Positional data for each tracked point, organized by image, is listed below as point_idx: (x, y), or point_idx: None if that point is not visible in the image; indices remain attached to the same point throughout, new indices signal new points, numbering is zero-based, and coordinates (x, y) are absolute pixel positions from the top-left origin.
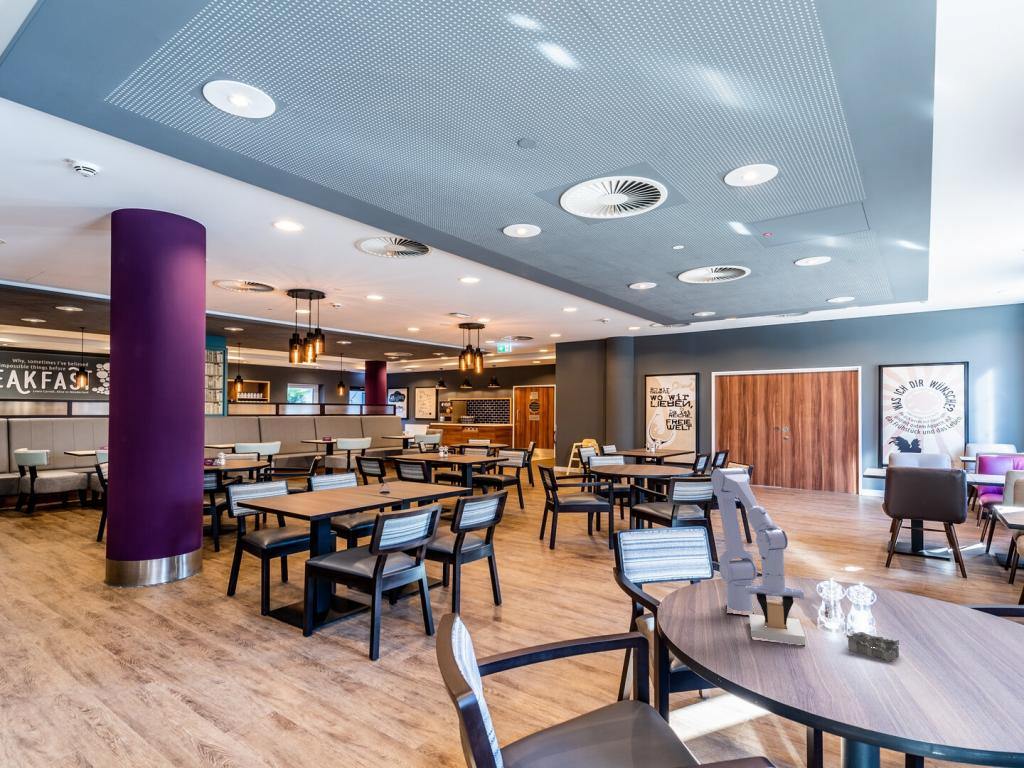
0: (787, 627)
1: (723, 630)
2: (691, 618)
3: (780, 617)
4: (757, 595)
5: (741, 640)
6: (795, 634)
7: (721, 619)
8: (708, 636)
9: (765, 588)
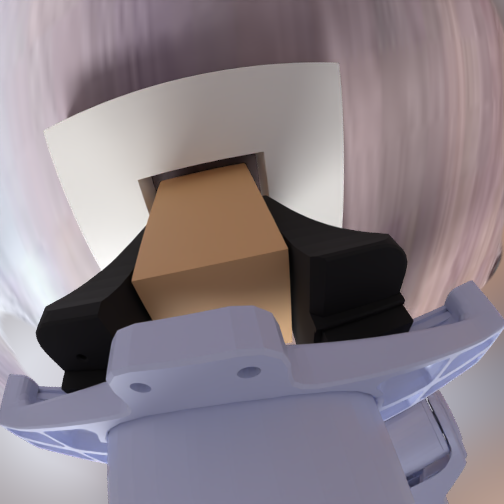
0: (145, 210)
1: (418, 140)
2: (473, 211)
3: (170, 214)
4: (397, 311)
5: (357, 46)
6: (85, 125)
7: (408, 245)
8: (455, 67)
9: (370, 413)
